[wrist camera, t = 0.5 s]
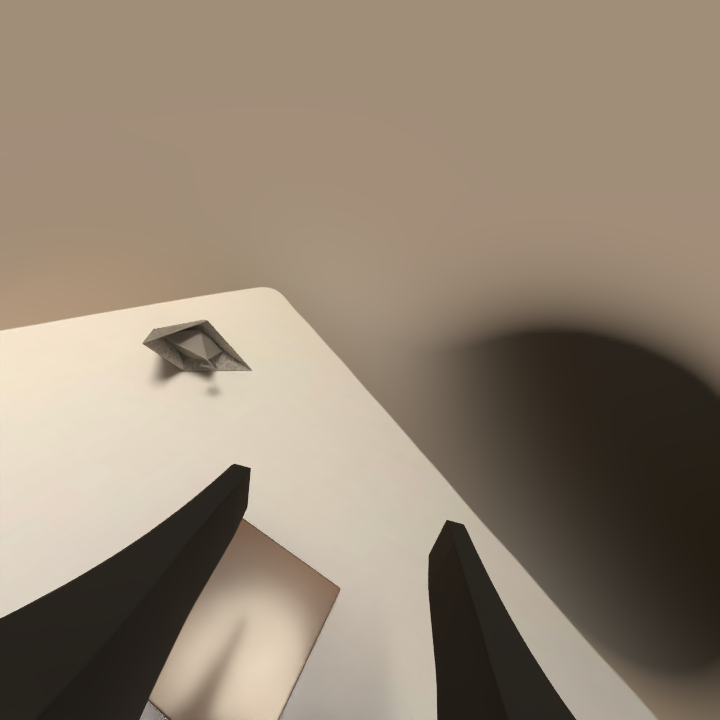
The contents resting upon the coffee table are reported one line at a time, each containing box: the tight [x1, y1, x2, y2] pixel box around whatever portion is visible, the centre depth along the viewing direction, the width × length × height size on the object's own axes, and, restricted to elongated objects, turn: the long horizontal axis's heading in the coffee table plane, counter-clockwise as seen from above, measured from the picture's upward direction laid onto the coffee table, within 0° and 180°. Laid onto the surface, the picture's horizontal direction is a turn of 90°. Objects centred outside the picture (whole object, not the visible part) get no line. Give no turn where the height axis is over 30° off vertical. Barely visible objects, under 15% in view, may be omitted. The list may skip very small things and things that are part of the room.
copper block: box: [148, 518, 340, 720], centre depth 22 cm, size 10×10×2 cm
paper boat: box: [142, 320, 251, 371], centre depth 35 cm, size 12×6×9 cm
